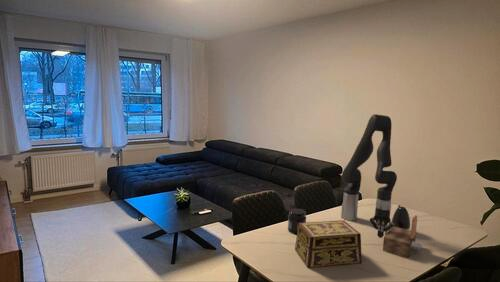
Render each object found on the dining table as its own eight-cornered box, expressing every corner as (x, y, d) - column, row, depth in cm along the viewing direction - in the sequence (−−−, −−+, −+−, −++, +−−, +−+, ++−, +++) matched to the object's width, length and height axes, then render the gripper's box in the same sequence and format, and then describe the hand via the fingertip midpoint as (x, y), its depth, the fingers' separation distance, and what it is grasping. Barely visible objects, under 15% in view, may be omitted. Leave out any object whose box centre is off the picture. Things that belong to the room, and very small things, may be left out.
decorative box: (343, 245, 170) (345, 219, 168) (362, 263, 152) (364, 234, 150) (294, 249, 165) (295, 222, 163) (307, 268, 147) (309, 237, 145)
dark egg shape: (405, 227, 195) (407, 204, 193) (412, 235, 185) (414, 210, 183) (388, 226, 196) (390, 203, 194) (394, 234, 186) (396, 209, 184)
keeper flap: (410, 238, 161) (412, 219, 160) (413, 233, 167) (415, 215, 166) (412, 238, 160) (414, 219, 159) (415, 233, 167) (417, 215, 165)
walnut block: (382, 250, 165) (383, 236, 164) (391, 238, 179) (392, 225, 178) (408, 258, 158) (410, 243, 157) (416, 245, 172) (417, 231, 171)
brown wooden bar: (383, 244, 171) (384, 234, 170) (386, 240, 175) (387, 230, 174) (419, 254, 160) (420, 243, 159) (421, 250, 165) (422, 239, 164)
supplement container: (309, 233, 185) (310, 213, 184) (293, 235, 181) (294, 215, 180) (299, 226, 195) (300, 207, 193) (284, 228, 191) (285, 209, 189)
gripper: (368, 205, 173) (365, 236, 175) (394, 211, 165) (391, 243, 167) (372, 202, 178) (370, 231, 181) (397, 208, 170) (394, 238, 173)
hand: (380, 237), depth 174 cm, fingers closed
